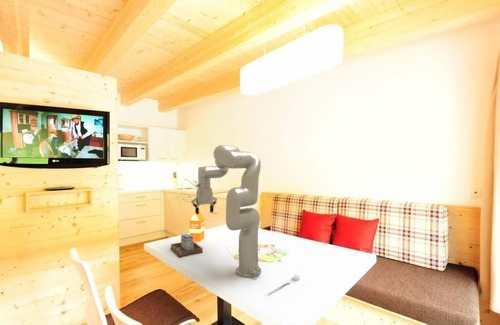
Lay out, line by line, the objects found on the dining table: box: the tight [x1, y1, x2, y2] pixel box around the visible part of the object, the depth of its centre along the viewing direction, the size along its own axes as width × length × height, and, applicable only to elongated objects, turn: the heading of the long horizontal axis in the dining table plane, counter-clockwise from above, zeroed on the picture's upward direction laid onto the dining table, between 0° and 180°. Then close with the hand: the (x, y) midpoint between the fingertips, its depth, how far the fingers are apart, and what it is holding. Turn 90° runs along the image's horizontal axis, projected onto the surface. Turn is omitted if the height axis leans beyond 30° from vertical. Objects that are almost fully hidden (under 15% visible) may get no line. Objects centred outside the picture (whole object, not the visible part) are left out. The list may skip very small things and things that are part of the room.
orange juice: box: [189, 210, 205, 243], centre depth 181 cm, size 8×9×20 cm
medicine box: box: [180, 233, 193, 251], centre depth 157 cm, size 8×4×9 cm, turn 41°
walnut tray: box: [170, 241, 204, 258], centre depth 157 cm, size 18×14×3 cm
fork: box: [267, 274, 301, 296], centre depth 110 cm, size 3×24×2 cm, turn 135°
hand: (204, 213), depth 161 cm, fingers open, 9 cm apart
